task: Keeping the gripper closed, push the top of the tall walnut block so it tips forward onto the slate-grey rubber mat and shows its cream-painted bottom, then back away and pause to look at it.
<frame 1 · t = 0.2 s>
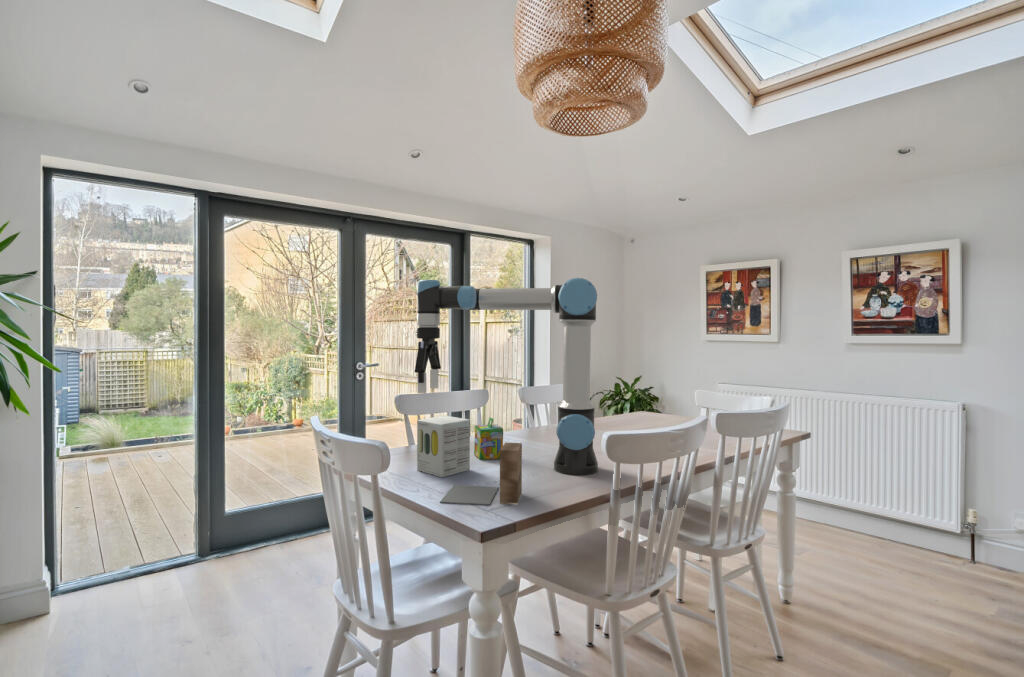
hand: (428, 390, 181), 28 cm above the table, tool pointing down, fingers open, 13 cm apart
chalk box: (488, 457, 206), on the table
walnut block: (510, 498, 156), on the table
supplement box: (443, 470, 186), on the table
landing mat: (470, 495, 159), on the table
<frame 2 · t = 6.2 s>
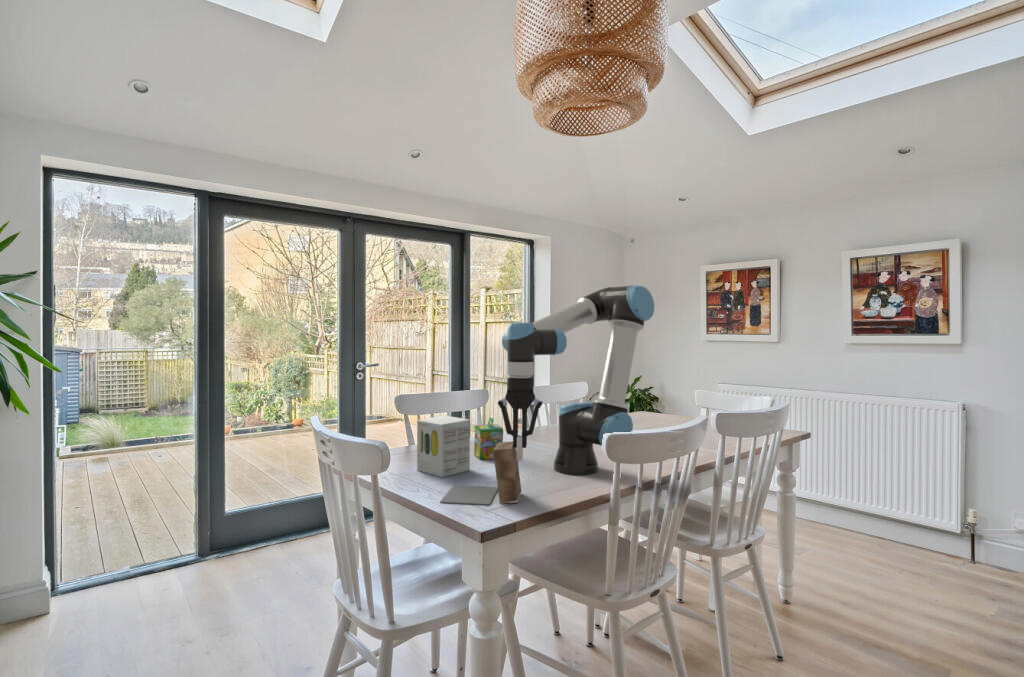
hand: (519, 458, 155), 12 cm above the table, tool pointing down, fingers closed
walnut block: (510, 497, 156), on the table, tilted 7°, touching gripper
everything else where it was.
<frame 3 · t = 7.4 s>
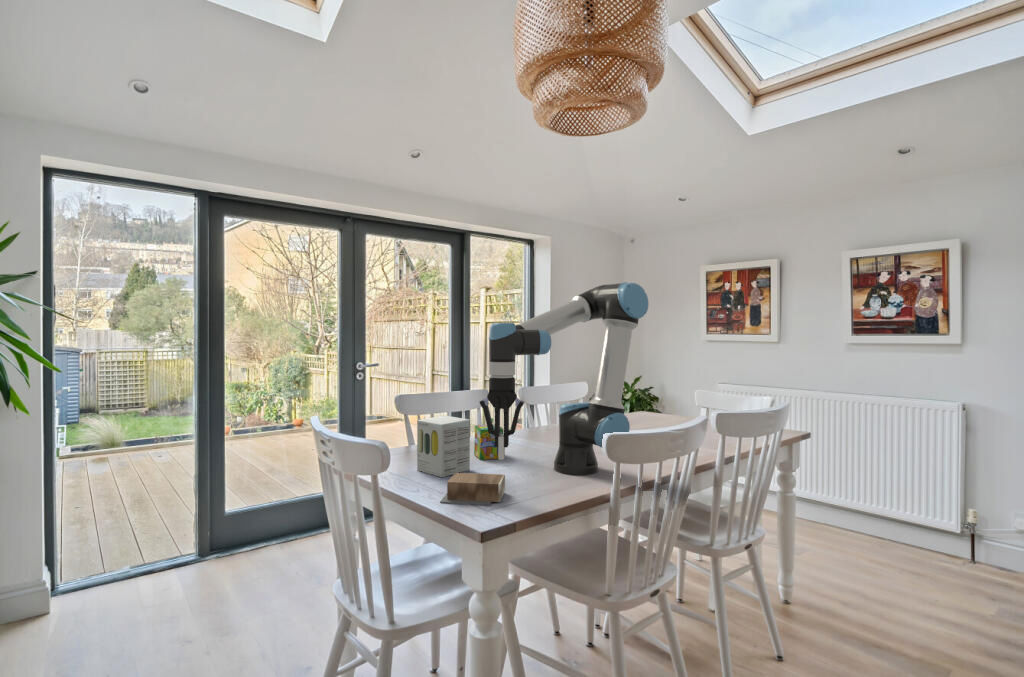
hand: (501, 458, 156), 11 cm above the table, tool pointing down, fingers closed
walnut block: (502, 487, 156), point 3 cm above the table, tilted 90°, touching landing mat
everything else where it was.
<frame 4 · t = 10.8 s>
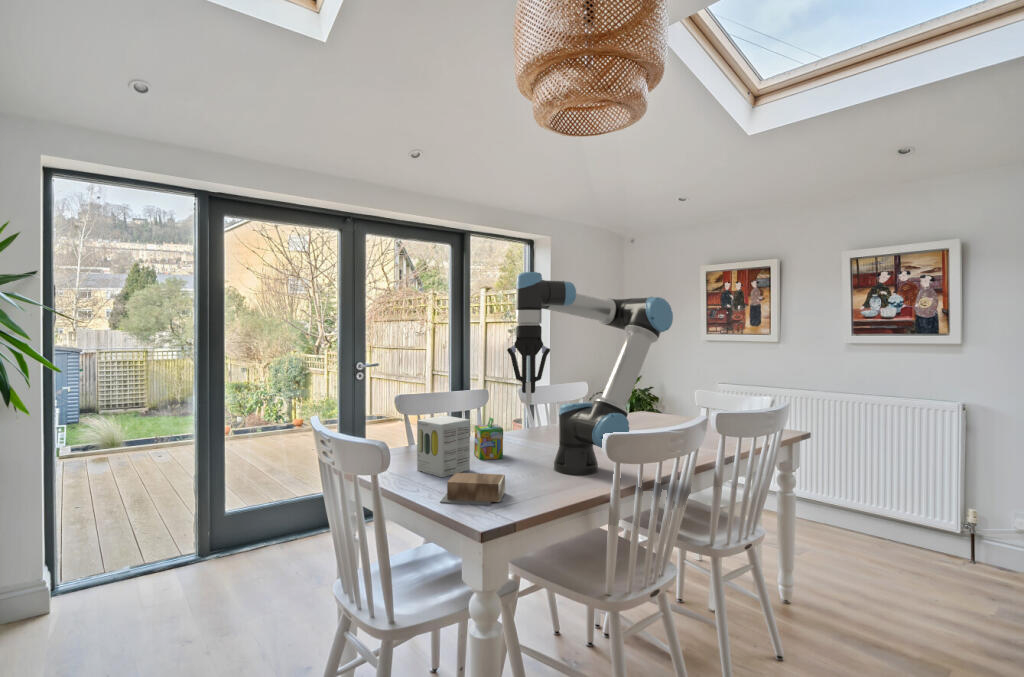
hand: (528, 403, 162), 26 cm above the table, tool pointing down, fingers closed
nothing on the table moved.
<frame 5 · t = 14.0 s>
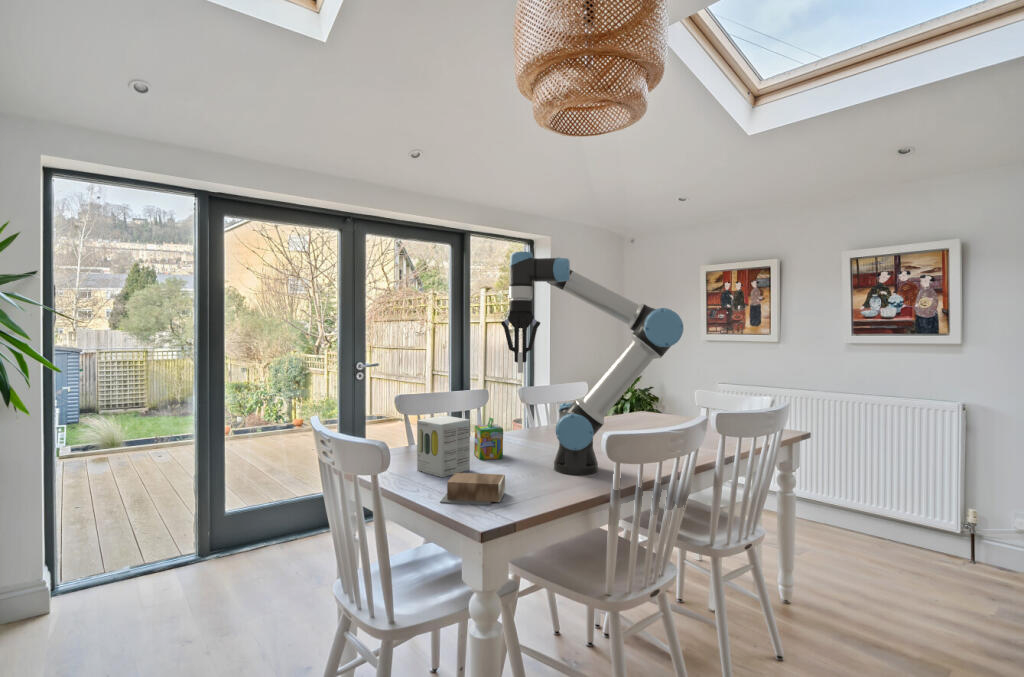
hand: (520, 372, 177), 34 cm above the table, tool pointing down, fingers closed
nothing on the table moved.
at the end: walnut block tilted 90°; walnut block inside the target area (7.5 cm from its centre), point 2.9 cm above the table; walnut block touching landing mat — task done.
